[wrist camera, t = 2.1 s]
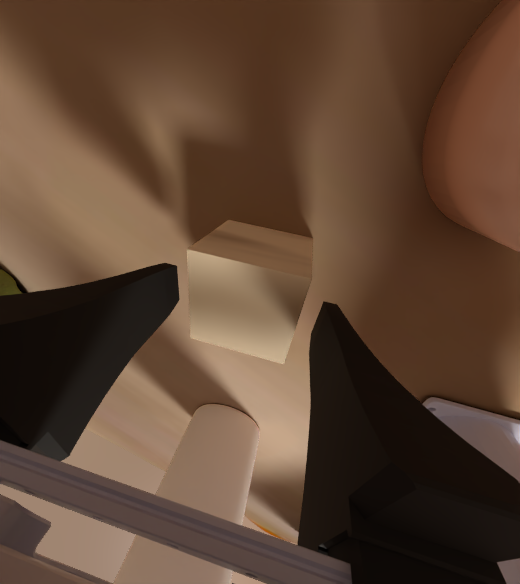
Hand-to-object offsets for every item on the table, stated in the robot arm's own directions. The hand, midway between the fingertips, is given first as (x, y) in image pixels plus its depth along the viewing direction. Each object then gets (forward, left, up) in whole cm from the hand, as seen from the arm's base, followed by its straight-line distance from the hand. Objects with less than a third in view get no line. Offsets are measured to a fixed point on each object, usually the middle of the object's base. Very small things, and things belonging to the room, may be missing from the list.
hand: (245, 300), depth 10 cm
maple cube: (0, 0, -4) cm, 4 cm away
